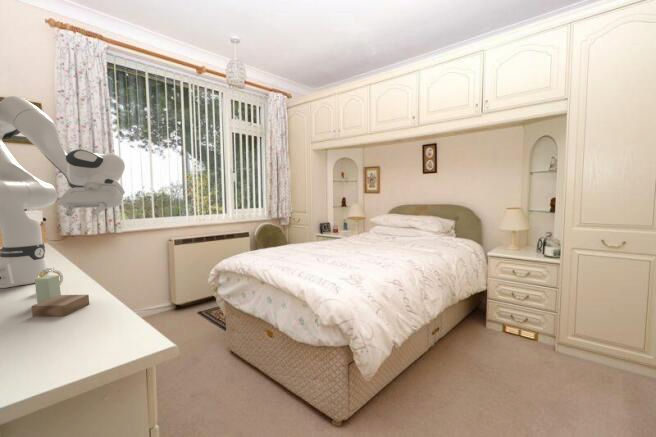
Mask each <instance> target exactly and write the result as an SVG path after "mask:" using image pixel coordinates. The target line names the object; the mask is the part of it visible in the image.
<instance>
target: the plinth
mask: <svg viewBox="0 0 656 437" xmlns="http://www.w3.org/2000/svg"><path fill="white" fill-rule="evenodd" d="M89 305H90V298H89V294H61V295H58V296H55V297H53V298H50V299H48V300H45V301H43V302H40V303H38V304H37V303H36V304H33V305H31V314H32V317H65V316H68V315H70V314H72V313H75V312H76V311H78V310H80V309H82V308H84V307H86V306H89Z"/></svg>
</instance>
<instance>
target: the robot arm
mask: <svg viewBox="0 0 656 437" xmlns="http://www.w3.org/2000/svg"><path fill="white" fill-rule="evenodd" d="M58 130H59V129H58V127H57V125H56V123H55V122H54V120H52V118H51V117H50V116H49V115H48V114H46V113H45V112H44V111H43V110H41V108H39V107H38V106H37V105H35V104H34V103H32V102H30V101H29V100H27V99H25V98H24V97H20V96H15V95H11V96H7V97H4V98H3V99H2V100H0V234H1V240H2V247H1V248H0V289H6V288H10V287H16V286H17V287H18V286H24V285H31V284H35V279H37V278H38V275H39V274H40V273H41V272H42V270H45V269H46V268H49V266H48V263H47V259H46V254H45V253H46V248H45V247H46V246H45V243H44V242H43V232H42V225H41V224H40V223H39V222H38V221H36V220H34V219H33V218H32V219H31V218H30V217H29V216H28V215H27V213H26V211H25V210H33V209H41V208H46V207H49V206H52V205H53V204H55V203H56V201H57V199H58V192H57V190H56V188H55V186H53V185H52V184H51V183H48V182H45V181H43V180H41V179H39V178H38V177H36V175H33V174H32V173H31V172H29V171H28V170H27V169H25V168H24V167H23V166H22V165H20V163H19V162H18V160H17V159H16V158H15V157H14V156H13V154H12V152H10V150H9V148H8V147H7V146H6V144H5V143H4V141H3V140H9V139H12V138H13V137H15V136H18V135H19V134H22V135H23V136H24V137H25V138H26V139H27V140H28V141H29V142H30V143H31V144H32V145H34V146H35V148H36V149H37V150H38V151H40V153H41V154H42V155H43V156H44V157H45V158H46V159H47V160H48V161H49V162H50V163H51V164H52V165H53V166H54V167H55V168H56V169H57V170H58V171H59V172H60V173H61V174H62V175H63V176H64V177H65V179H66V181H67V184H68V185H69V187H70V188H69V189H68V190H66V191H65V192H64V193H63V195H62V196H60V198H59V199H58V202H59V204H60V205H61V206H62V207H63V208H64V209H66V210H65V212H64V215H65V216H66V217H73V215H74V213H75V212H74V211H73V210H74V209H82V208H83V209H87V208H89V209H91V208H94V209H92V211H91V212H90V213H91V215H92V216H99V215H100V214H101V212H103V211H104V210H106V209H107V208H116V207H118V206H120V204H121V202H122V200H123V199H124V198H123V197H124V195H125V193H126V191H125V189H124V188H123V186H121V184H120V183H119V180H120V179H121V178H122V175H123V174H124V172H125V167H126V165H125V161H124V160H123V159H122V158H121V156H120V155H118V154H115V153H112V152H108V153H96V152H95V153H94V152H92V151H91V150H90V151H89V150H86V149H81V148H79V149H74V150H71V151H70V152H68V153H67V152H66V151H65V149H64V146H63V143H62V142H61V137H60V134H59V131H58ZM47 275H51V272H50V273H48V274H46V275H45V276H47Z"/></svg>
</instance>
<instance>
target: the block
mask: <svg viewBox="0 0 656 437" xmlns="http://www.w3.org/2000/svg"><path fill="white" fill-rule="evenodd" d="M34 285H35V294H36V304H38V303H40V302H43V301H45V300H48V299H50V298H53V297H55V296H58V295H62V294H61V285H60V276H59V275H58V274H55V275H47V276H43V277H40V278H37V279H35V283H34Z"/></svg>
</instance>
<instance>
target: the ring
mask: <svg viewBox="0 0 656 437" xmlns="http://www.w3.org/2000/svg"><path fill="white" fill-rule="evenodd" d="M48 273H50V274H51V273H54V274H56V275H59V282H60V286H61V285H62V283H63V281H64V275H63V273H62V272H61V271H60V270H58V269H55V267H53V268H51V267H48V268H46V269H45V270H42V272H41V273H40V274H39V275H38V278H40V277H43V276H45V275H46V274H48Z"/></svg>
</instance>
